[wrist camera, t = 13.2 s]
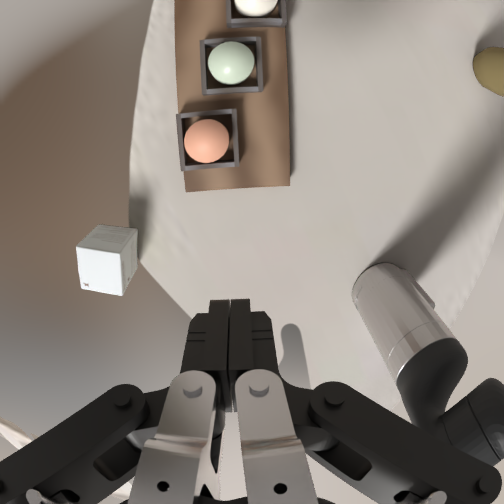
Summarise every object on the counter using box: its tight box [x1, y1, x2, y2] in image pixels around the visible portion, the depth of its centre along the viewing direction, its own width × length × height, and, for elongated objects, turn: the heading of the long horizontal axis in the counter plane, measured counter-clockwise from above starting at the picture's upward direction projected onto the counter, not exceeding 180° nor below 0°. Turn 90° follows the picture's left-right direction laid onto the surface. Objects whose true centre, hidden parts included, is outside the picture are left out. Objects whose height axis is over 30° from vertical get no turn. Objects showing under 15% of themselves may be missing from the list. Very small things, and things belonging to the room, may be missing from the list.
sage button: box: [208, 42, 254, 85], centre depth 25 cm, size 4×4×3 cm
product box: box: [76, 224, 138, 296], centre depth 34 cm, size 6×6×7 cm
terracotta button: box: [184, 119, 229, 163], centre depth 28 cm, size 4×4×3 cm
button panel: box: [175, 0, 290, 192], centre depth 26 cm, size 12×28×4 cm, turn 2°
